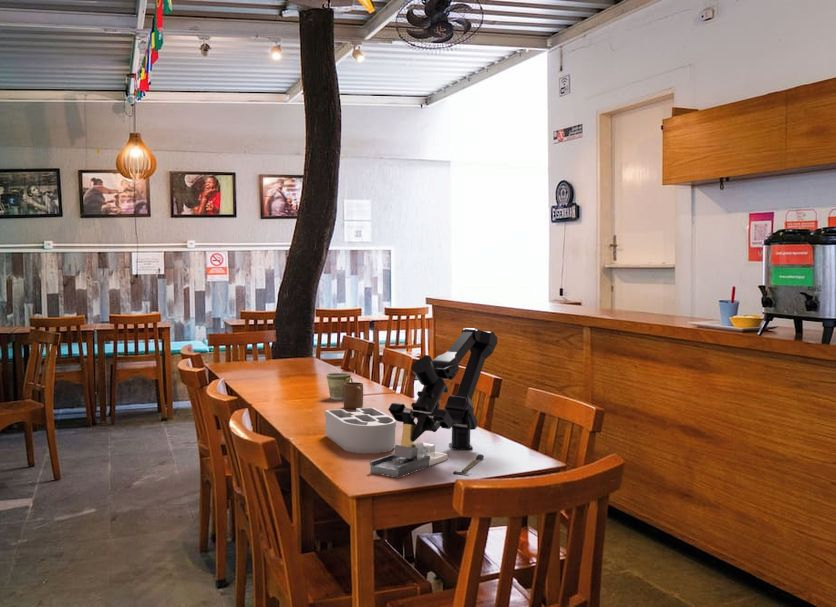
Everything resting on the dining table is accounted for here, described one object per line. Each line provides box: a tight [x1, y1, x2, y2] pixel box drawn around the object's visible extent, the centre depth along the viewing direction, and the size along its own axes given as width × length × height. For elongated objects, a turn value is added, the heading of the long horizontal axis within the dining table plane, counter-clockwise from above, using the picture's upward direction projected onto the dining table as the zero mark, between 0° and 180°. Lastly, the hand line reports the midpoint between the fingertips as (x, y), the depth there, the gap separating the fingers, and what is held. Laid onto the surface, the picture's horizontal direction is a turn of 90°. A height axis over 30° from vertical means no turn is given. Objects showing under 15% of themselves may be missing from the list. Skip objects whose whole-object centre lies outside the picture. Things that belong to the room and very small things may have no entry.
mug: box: [343, 381, 364, 410], centre depth 304 cm, size 12×8×9 cm, turn 22°
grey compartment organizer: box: [324, 406, 397, 454], centre depth 245 cm, size 17×28×9 cm, turn 22°
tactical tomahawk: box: [452, 453, 484, 477], centre depth 220 cm, size 21×7×1 cm, turn 157°
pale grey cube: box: [413, 441, 425, 459], centre depth 220 cm, size 4×4×4 cm
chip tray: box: [429, 451, 449, 467], centre depth 225 cm, size 10×9×2 cm
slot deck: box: [369, 453, 430, 478], centre depth 215 cm, size 15×10×3 cm, turn 147°
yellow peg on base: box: [393, 424, 418, 459], centre depth 217 cm, size 3×6×9 cm, turn 57°
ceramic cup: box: [326, 372, 354, 401], centre depth 325 cm, size 13×10×10 cm
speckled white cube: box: [423, 442, 436, 460], centre depth 225 cm, size 4×4×4 cm
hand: (408, 440), depth 217 cm, fingers closed on yellow peg on base, 2 cm apart
